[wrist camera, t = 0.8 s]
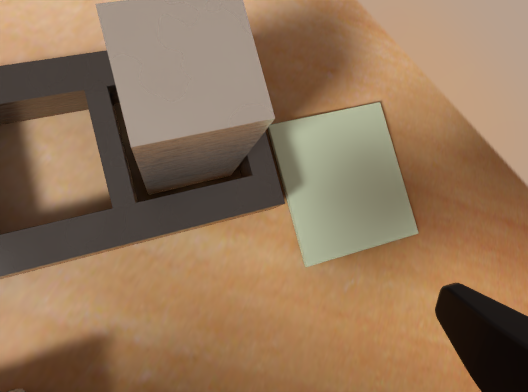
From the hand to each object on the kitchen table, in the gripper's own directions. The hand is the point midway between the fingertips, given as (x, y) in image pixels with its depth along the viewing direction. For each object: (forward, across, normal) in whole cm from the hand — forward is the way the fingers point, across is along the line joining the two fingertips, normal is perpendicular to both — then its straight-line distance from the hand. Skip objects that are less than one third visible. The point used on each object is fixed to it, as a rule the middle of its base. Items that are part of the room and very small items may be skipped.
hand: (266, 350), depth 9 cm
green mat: (+13, -9, +5) cm, 16 cm away
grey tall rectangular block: (+15, 0, +2) cm, 15 cm away
